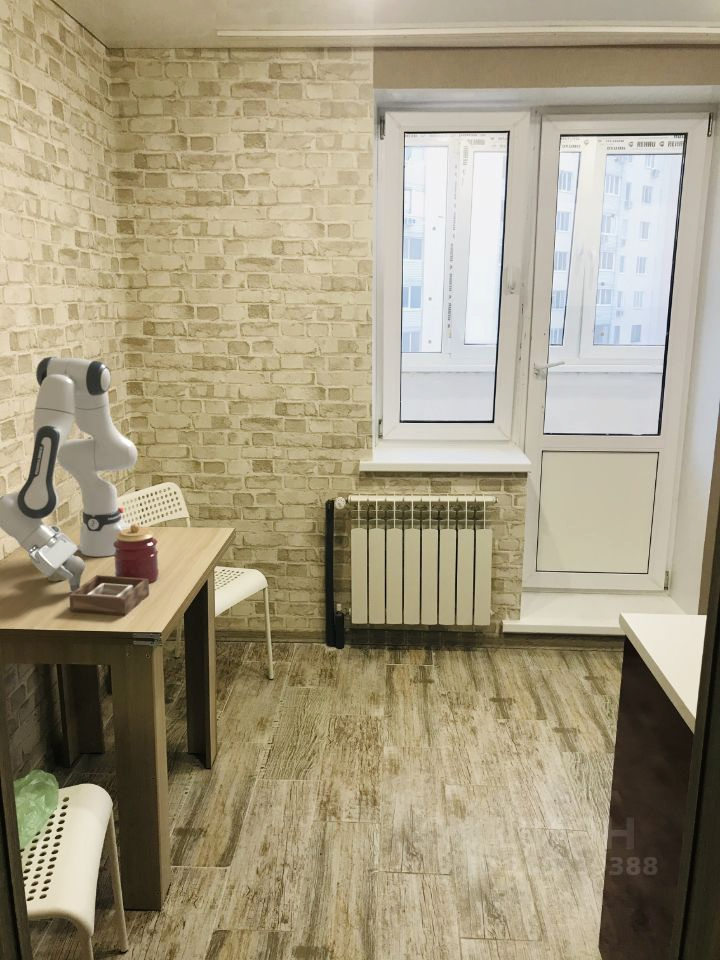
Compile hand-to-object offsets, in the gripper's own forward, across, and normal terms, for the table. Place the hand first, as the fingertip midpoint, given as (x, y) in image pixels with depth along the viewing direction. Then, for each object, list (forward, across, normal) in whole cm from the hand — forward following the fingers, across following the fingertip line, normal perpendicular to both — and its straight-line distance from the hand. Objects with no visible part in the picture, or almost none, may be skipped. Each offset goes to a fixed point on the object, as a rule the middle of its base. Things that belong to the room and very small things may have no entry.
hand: (76, 573), depth 229 cm
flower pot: (-3, +12, +11) cm, 16 cm away
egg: (+4, 0, +5) cm, 6 cm away
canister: (+15, +12, -6) cm, 20 cm away
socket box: (+13, -8, -4) cm, 16 cm away
